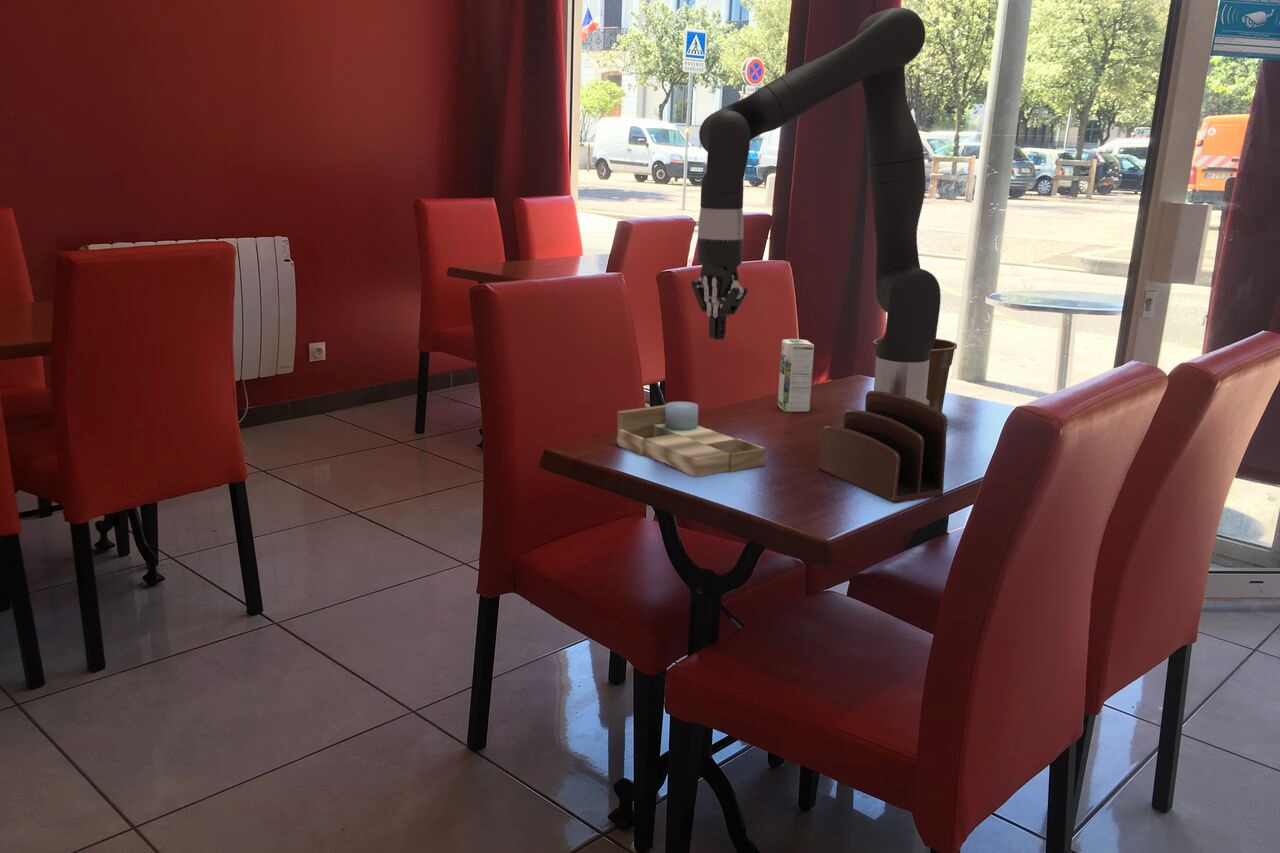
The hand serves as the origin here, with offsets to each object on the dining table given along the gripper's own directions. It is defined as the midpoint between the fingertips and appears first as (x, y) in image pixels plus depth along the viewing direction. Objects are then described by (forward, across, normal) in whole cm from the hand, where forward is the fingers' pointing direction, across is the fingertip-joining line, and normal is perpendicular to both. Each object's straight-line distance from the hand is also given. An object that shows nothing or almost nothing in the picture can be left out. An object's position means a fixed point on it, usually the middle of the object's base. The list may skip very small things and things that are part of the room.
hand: (716, 338), depth 177 cm
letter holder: (+21, -26, -15) cm, 36 cm away
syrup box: (+21, +20, -37) cm, 47 cm away
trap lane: (+21, +3, +3) cm, 21 cm away
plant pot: (+21, +1, -51) cm, 55 cm away
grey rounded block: (+18, +11, -1) cm, 21 cm away
